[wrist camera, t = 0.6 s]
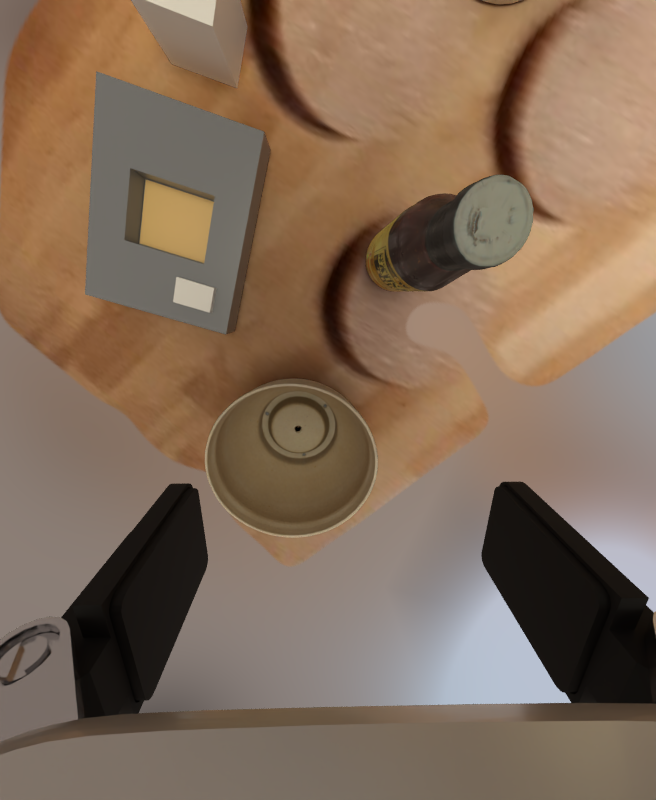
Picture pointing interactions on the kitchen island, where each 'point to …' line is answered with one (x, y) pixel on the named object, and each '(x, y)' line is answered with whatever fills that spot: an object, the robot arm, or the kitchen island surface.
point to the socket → (171, 205)
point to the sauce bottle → (451, 236)
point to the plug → (199, 35)
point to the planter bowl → (291, 458)
